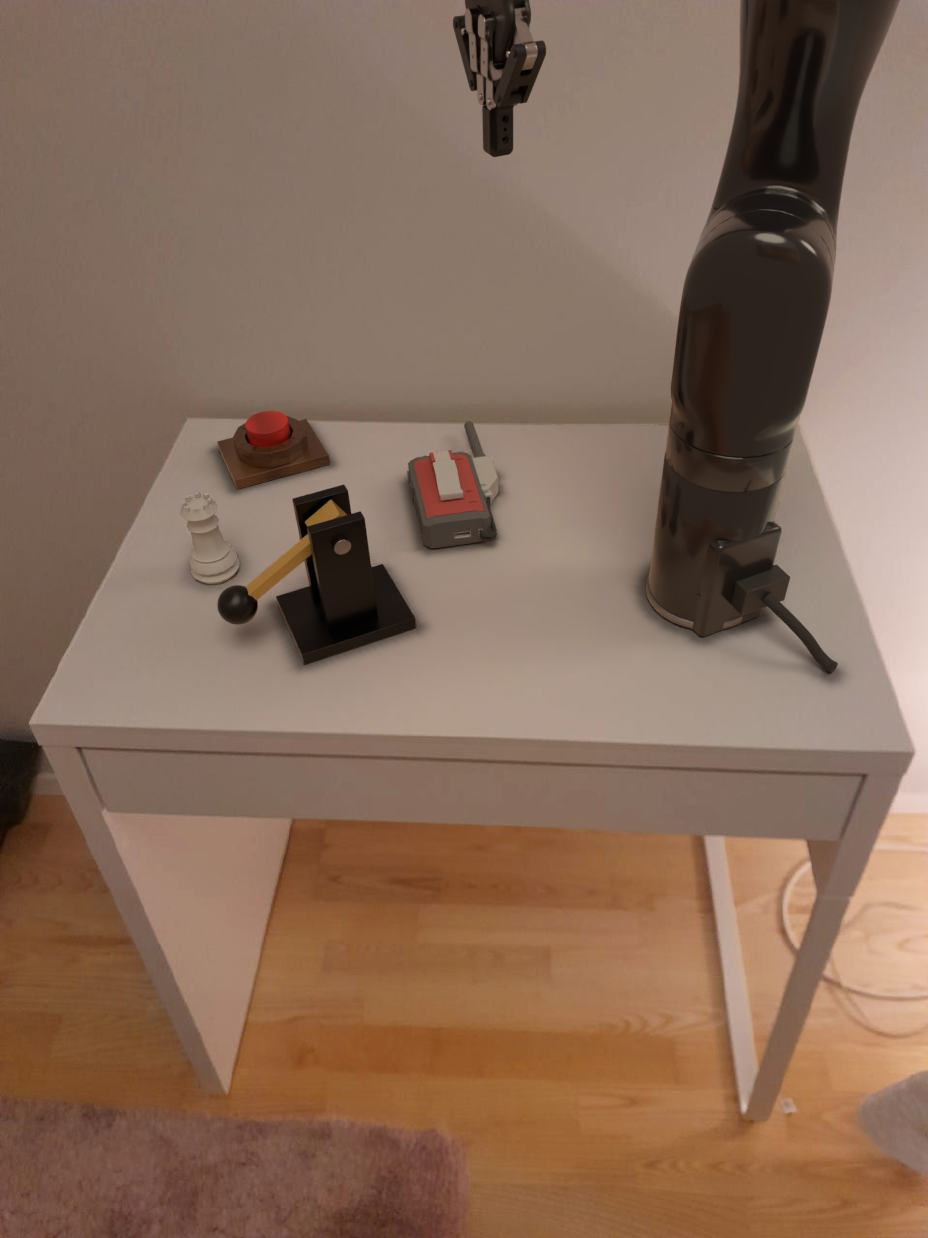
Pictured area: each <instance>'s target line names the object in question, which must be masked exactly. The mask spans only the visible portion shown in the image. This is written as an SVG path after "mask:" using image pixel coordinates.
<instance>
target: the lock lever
mask: <svg viewBox="0 0 928 1238" xmlns="http://www.w3.org/2000/svg"><path fill="white" fill-rule="evenodd" d="M345 515H347V514H346V513H345V512H344V511H343V510H342V509H341V508H340V507H339V506H338V505H337V504H335V503H334V502H333V501H332V500H330V501H328V502H327V503H326V504H325V505H324V506H323V507H321V508H320V509H319V510H318V511H317V512H315V513H314V514H313V515H312V516H311V517H310V518H308V519H307V520H306V521H305V523H306V525H307V526H311V525H314V524H317V523H321V522H324V521H328V520H331V519H335V518H338V517H342V516H345ZM311 554H312V552H311V546H310V541H309V536H308V534H307V535H306V536H305V537H303V538H302V539H301V540H300V539H299V541H297V542H296V543H295V544H294V545H293V546H292V547H290V548H289V549H288V550H287V551H285V553H284V554H282V555H281V556H280V557H279V558H277V559H276V560H275V561H274V562H272V564H270V565H269V566H268V567H267V568H266V569H264V570H263V571H261V573H259V575H257V576H256V577H255V578H254V579H253V580H251V581H249V583H248V584H247V585H246V586H244V585H239V584H236V585H231V586H228V587H226V588H224V590H222V592H221V593H220V594H219V596H218V597H217V601H216V602H217V603H216V607H217V612H218V614H219V616H220V618H222V619H223V621H225V622H226V623H228V624H230V625H234V626H235V625H237V626H238V625H240V626H241V625H244V624H247V623H249V622H250V621H251V620H253V619H254V617H255V616H256V615H257V612H258V609H259V602H258V600H259V599H261V598H262V597H263V596H264V595H265V594H266V593H267V592H269V591H270V590H271V589H272V588H273V587H275V586H276V585H277V584H278V583H279V582H281V581H282V580H283V579H284V578H285V577H287V576H288V575H289V574H290V573H291V572H293V571H294V570H295V569H296V568H297V567H298V566H299V565H301V564H302V563H303V562H305V561H304V560H305V559H307V558H308V557H309V556H310V555H311Z"/></svg>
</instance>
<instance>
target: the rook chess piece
mask: <svg viewBox="0 0 928 1238" xmlns="http://www.w3.org/2000/svg"><path fill="white" fill-rule="evenodd" d="M218 508H219V504H218V503H217V502H216V501H215V500H214V499H212V497H211V496H210V494H209V493H207V492H204V493H203V494H202V493H201V491H197V492H194V497H192V496H191V495H190V494H187V495H186V496H184V500H181V508H180V511H179V512H180V513H179V514H180V516H181V518H182V519H184V520H186V521H187V523H186V528H187V530H188V531H189V532H190V534H191V540H192V549H191V554H190V555H189V567H190V573H191V575H192V577H193V578H194V579H195V580H197V581H199V582H200V583H203V584H208V585H216V584H217V585H218V584H222V583H224V582H227V581H229V580H230V579H231V578H233V577H234V576H235V574H236V572H238V570H239V568H240V559H239V558H238V557H237V555H238V554H237V551H236V550H235V549H234V547H233V546H232V545H231V544H230V543H228V541H227V540H225V538H224V537H223V535H222V532H221V530H220V527H219V523H220V519H219V517H218V516H217V515H216V513H217V511H218Z"/></svg>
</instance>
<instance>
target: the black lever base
mask: <svg viewBox="0 0 928 1238" xmlns="http://www.w3.org/2000/svg"><path fill="white" fill-rule="evenodd" d="M291 500H292V505H293V511H294V515H295V521H296V526H297V530H298V535H299V541H300V540H301V539H302V538H303V537H305V536H306V535H307V534H308V536H309V541H310V546H311V552H312V554H311V555H310V556H309V557H308V558H307V559H305V560H304V561H303V562H304V566H305V572H306V576H307V581H308V586H305V587H301V588H298V589H295V590H292V591H288V592H285V593H282V594H279V595H276V596H275V599H276V603H277V607H278V609H279V612H280V614H281V616H282V618H283V620H284V623H285V625H286V627H287V630H288V632H289V634H290V637H291V638H292V640H293V643H294V645H295V647H296V650H297V652H298V654H299V657H300V659H301V661H302V662H303V665H304V666H306V665H308V664H311V663H314V662H318V661H321V660H324V659H327V658H329V657H333V656H336V655H339V654H342V653H345V652H349V651H351V650H354V649H357V648H361V647H364V646H366V645H369V644H372V643H375V642H378V641H382V640H386V639H388V638H390V637H393V636H396V635H400V634H403V633H405V632H409V631H413V630H415V629H417V623H416V617H415V616H414V614H413V612H412V611H411V609H410V607H409V605H408V604H407V602H406V600H405V599H404V597H403V596H402V594H401V592H400V590H399V589H398V587H397V585H396V584H395V582H394V581H393V579H392V577H391V575H390V574H389V572H388V569H386V567H385V565H384V564H383V563H380V564H376V565H374V566H372V562H371V556H370V555H371V554H370V546H369V539H368V533H367V532H368V531H367V524H366V517H365V516H364V514H363V513H362V511H361V510H359V511H355V512H352V509H351V500H350V494H349V490H348V488H347V486H346V485H345V484H341V485H338V486H337V485H336V486H333V487H330V488H329V487H328V488H325V489H322V490H319V491H314V492H311V493H308V494H307V493H306V494H305V495H301V496H300V495H299V496H297V497H293V498H292V499H291ZM330 500H332V501H333V502H334V503H335V504H337V505H338V506H339V507H340V508H341V509H342V510H343V511H344V512H345V513H346V514H347V515H345V516H342V517H338V518H335V519H331V520H328V521H324V522H321V523H317V524H314V525H311V526H307V525H306V523H305V521H306V520H307V519H308V518H310V517H311V516H312V515H313V514H314V513H315V512H317V511H318V510H319V509H320V508H321V507H323V506H324V505H325V504H326V503H327V502H328V501H330Z"/></svg>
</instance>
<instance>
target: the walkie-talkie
mask: <svg viewBox="0 0 928 1238" xmlns="http://www.w3.org/2000/svg"><path fill="white" fill-rule="evenodd" d="M463 427H464V431H465V433H466V437H467V440H468V443H469V446H470V448H471V452H472V454H470V453H467V452H465V451H454V452H453V450H452V449H447V450H440V451H432V452H429V454H428V455H423V456H416V457H414V458H412V459H411V460H409V462H408V463H407V468H408V470H407V472H406V475H407V482H408V485H409V491H410V496H411V497H412V500H413V504H414V507H415V511H416V516H417V520H418V525H419V529H420V532H421V538H422V543H423V545H424V546H425V547H428V548H430V549H441V548H446V547H455V546H462V545H467V544H468V545H469V544H477V543H483V542H493V541H495V540H496V539H497V536H498V529H497V526H496V523H495V521H494V516H493V515H492V510H491V507H490V506H491V505H492V504H493V500H494V499H495V498H496V497H497V495H498V494H499V476H498V473H497V471H496V470H497V469H496V467H495V461H494V458H493V455H486V454H485V453H484V451H483V450H484V449H483V448H482V445H481V442H480V439H479V437H478V436H479V435H478V433H477V431H476V428H475V426H474V422H473V421H471V420H467V421H466V422H464V424H463ZM472 456H473V457H472Z"/></svg>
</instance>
